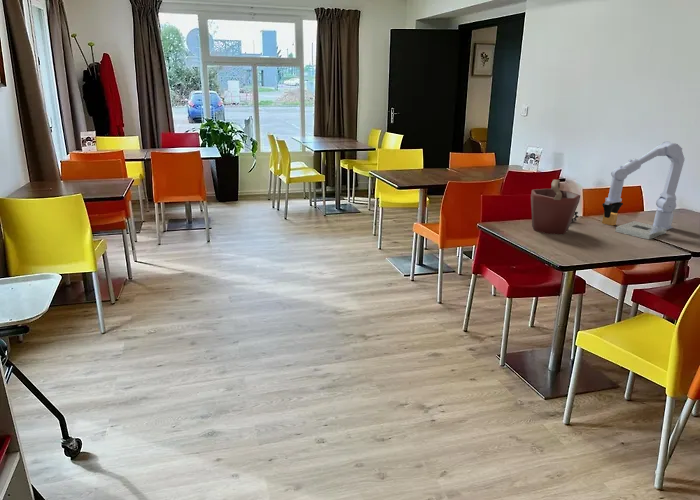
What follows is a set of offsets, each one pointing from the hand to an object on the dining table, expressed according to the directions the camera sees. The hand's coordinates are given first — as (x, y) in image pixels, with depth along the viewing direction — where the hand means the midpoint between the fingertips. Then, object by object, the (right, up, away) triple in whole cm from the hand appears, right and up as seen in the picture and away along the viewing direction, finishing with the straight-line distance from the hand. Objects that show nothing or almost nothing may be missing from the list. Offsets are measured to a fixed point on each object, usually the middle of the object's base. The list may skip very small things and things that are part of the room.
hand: (610, 216), depth 267 cm
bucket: (-38, -8, -13) cm, 41 cm away
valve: (-23, -3, +2) cm, 24 cm away
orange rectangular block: (0, -4, +1) cm, 4 cm away
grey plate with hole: (+9, -9, -12) cm, 18 cm away
